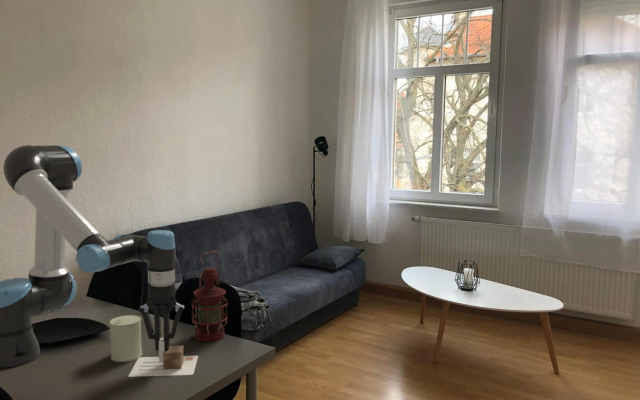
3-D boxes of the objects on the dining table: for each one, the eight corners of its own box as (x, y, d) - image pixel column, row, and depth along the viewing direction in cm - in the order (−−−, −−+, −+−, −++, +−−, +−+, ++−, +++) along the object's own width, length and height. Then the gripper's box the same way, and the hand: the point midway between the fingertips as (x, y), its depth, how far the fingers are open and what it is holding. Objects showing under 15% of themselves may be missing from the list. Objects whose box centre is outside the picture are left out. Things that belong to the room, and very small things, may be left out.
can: (104, 358, 154) (102, 320, 152) (128, 347, 162) (126, 311, 160) (125, 364, 149) (123, 325, 148) (148, 353, 157) (147, 316, 156)
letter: (128, 377, 142) (128, 376, 142) (138, 357, 155) (138, 357, 155) (193, 375, 144) (193, 374, 144) (198, 356, 157) (198, 355, 157)
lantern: (212, 327, 182) (212, 246, 179) (234, 335, 174) (235, 251, 171) (184, 336, 173) (184, 251, 169) (206, 346, 165) (206, 257, 162)
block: (163, 369, 147) (163, 352, 146) (166, 361, 152) (166, 346, 151) (181, 368, 148) (180, 352, 147) (183, 361, 152) (183, 345, 152)
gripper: (135, 287, 142) (136, 366, 144) (182, 286, 143) (182, 365, 146) (141, 280, 149) (142, 356, 152) (186, 279, 151) (186, 354, 153)
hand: (162, 360), depth 149 cm, fingers closed
